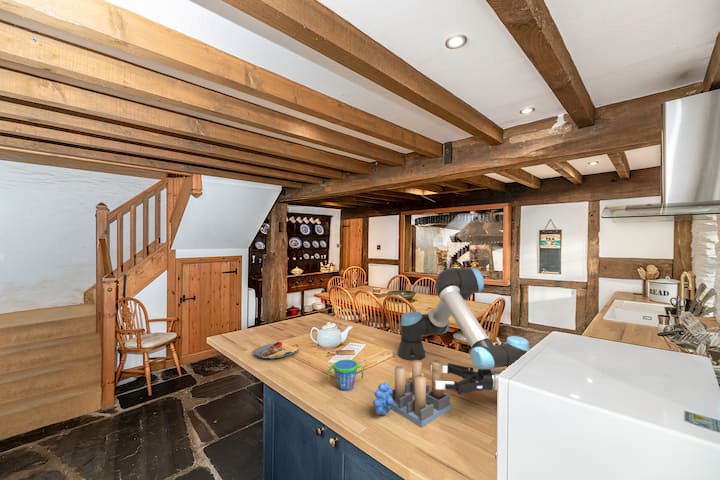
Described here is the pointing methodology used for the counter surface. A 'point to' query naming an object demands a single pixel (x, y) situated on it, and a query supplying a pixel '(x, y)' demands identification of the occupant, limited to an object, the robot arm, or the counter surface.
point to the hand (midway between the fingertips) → (432, 376)
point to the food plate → (273, 351)
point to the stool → (417, 397)
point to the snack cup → (345, 373)
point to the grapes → (383, 399)
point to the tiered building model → (411, 376)
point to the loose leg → (437, 378)
